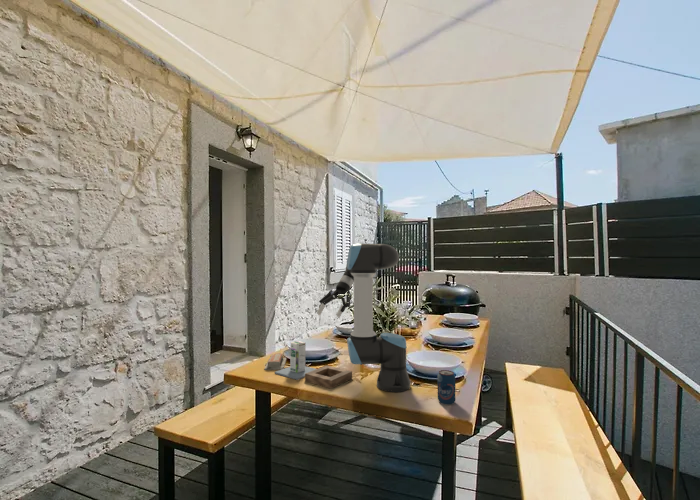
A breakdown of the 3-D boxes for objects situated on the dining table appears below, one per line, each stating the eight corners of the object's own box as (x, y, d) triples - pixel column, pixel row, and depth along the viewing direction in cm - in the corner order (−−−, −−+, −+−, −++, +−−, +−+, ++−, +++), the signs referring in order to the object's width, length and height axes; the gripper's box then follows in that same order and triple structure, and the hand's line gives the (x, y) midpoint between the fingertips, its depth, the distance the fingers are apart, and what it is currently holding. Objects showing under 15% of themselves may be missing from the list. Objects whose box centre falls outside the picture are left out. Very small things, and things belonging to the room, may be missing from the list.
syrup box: (289, 370, 177) (289, 342, 178) (298, 368, 182) (298, 340, 182) (296, 373, 174) (296, 344, 174) (305, 370, 178) (306, 342, 178)
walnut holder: (352, 378, 168) (352, 371, 168) (331, 388, 155) (331, 380, 155) (326, 372, 178) (326, 365, 178) (305, 381, 165) (305, 373, 165)
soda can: (438, 405, 138) (438, 374, 138) (436, 398, 145) (436, 369, 145) (456, 406, 137) (456, 375, 137) (454, 399, 143) (453, 369, 144)
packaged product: (283, 361, 182) (264, 361, 182) (283, 370, 182) (264, 371, 181) (286, 351, 200) (269, 352, 199) (286, 360, 200) (268, 360, 199)
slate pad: (319, 371, 179) (319, 369, 179) (297, 380, 166) (297, 378, 166) (297, 365, 189) (297, 364, 189) (274, 373, 176) (274, 371, 176)
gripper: (365, 290, 194) (349, 321, 182) (330, 288, 209) (313, 317, 196) (359, 281, 190) (343, 312, 177) (324, 280, 205) (307, 308, 192)
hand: (327, 315), depth 187 cm, fingers open, 13 cm apart
